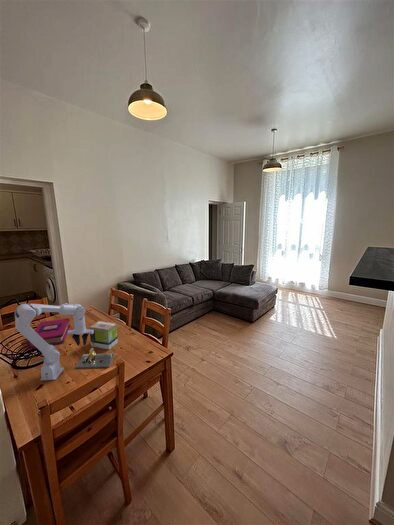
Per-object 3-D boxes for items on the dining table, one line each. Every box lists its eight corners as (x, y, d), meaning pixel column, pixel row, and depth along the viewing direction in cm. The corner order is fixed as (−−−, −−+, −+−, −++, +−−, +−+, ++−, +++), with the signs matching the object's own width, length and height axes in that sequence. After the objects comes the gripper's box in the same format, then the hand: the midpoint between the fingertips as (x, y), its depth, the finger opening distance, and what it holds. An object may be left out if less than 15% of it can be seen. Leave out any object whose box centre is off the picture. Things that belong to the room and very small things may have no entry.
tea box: (118, 342, 154) (117, 323, 151) (109, 350, 145) (107, 330, 142) (100, 338, 158) (99, 320, 155) (90, 346, 148) (88, 326, 146)
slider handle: (92, 361, 130) (91, 353, 129) (86, 361, 130) (86, 353, 129) (95, 355, 137) (95, 347, 136) (91, 355, 136) (90, 347, 135)
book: (27, 350, 144) (25, 339, 143) (40, 330, 170) (39, 321, 168) (63, 344, 151) (62, 334, 150) (70, 326, 177) (69, 317, 176)
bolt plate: (109, 367, 128) (108, 365, 128) (75, 368, 127) (75, 366, 126) (114, 355, 139) (114, 353, 139) (83, 356, 137) (83, 355, 137)
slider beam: (109, 361, 131) (108, 358, 131) (80, 362, 130) (79, 359, 130) (111, 356, 136) (111, 353, 136) (83, 357, 135) (83, 354, 135)
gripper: (94, 320, 134) (96, 340, 137) (70, 321, 133) (72, 341, 136) (90, 326, 127) (92, 347, 130) (64, 326, 126) (66, 347, 129)
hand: (81, 344), depth 132 cm, fingers open, 3 cm apart
